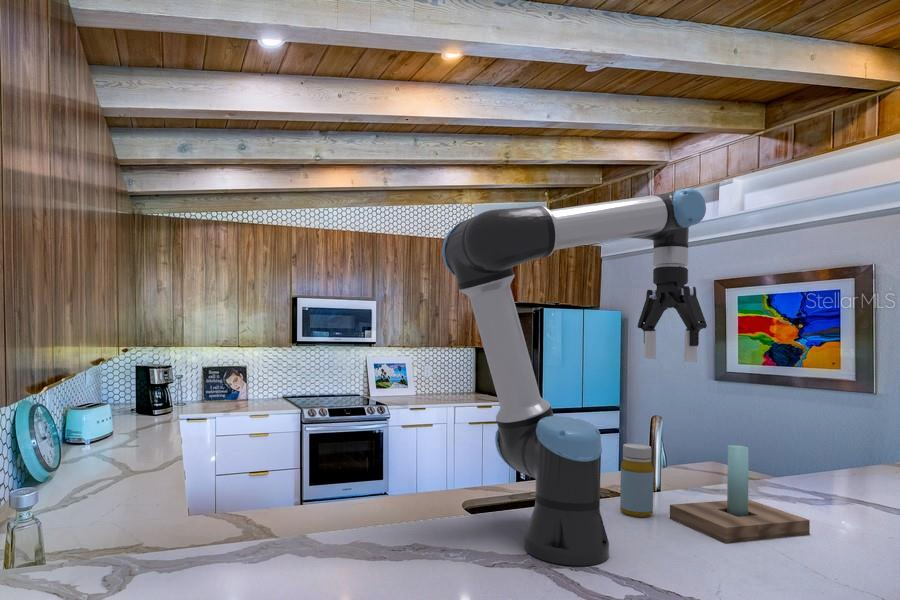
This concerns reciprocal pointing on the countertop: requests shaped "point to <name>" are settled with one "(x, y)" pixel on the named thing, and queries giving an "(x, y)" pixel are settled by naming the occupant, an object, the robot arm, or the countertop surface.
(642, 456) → the bottle
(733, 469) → the pin
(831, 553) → the countertop surface
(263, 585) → the countertop surface
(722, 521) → the bore block
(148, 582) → the countertop surface
